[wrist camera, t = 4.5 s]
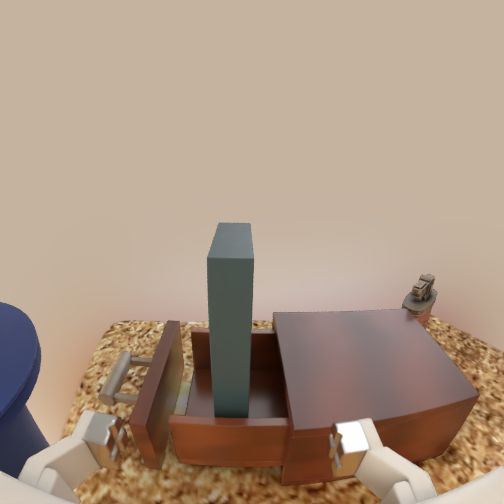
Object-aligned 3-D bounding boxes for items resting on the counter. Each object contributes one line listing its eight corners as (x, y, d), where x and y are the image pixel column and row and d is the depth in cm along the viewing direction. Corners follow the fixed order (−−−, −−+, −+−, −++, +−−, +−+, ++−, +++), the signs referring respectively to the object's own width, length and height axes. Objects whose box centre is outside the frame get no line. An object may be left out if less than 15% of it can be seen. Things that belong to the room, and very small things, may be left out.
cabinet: (281, 486, 18) (293, 430, 16) (268, 371, 32) (273, 311, 30) (442, 454, 19) (480, 394, 16) (390, 363, 32) (406, 308, 30)
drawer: (97, 457, 18) (73, 411, 16) (136, 362, 31) (128, 317, 29) (324, 471, 18) (341, 427, 17) (300, 368, 31) (306, 322, 29)
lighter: (407, 331, 39) (423, 266, 36) (427, 340, 36) (446, 273, 33) (382, 357, 34) (401, 282, 31) (405, 367, 31) (428, 292, 28)
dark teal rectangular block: (216, 441, 20) (206, 257, 16) (221, 377, 28) (218, 222, 23) (247, 442, 21) (253, 258, 16) (246, 377, 28) (250, 222, 23)
